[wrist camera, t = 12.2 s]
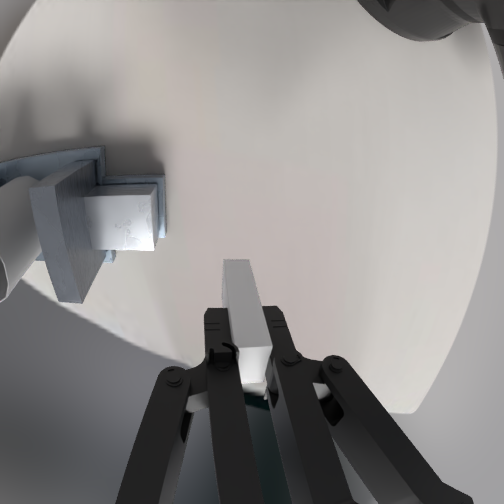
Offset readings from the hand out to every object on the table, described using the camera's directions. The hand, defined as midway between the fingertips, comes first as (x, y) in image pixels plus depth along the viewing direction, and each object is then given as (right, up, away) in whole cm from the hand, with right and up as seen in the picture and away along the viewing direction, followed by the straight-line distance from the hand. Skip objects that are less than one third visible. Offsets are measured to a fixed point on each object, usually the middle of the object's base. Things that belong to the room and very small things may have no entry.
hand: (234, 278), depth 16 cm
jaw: (-12, +5, +7) cm, 15 cm away
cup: (-23, +6, +5) cm, 24 cm away
